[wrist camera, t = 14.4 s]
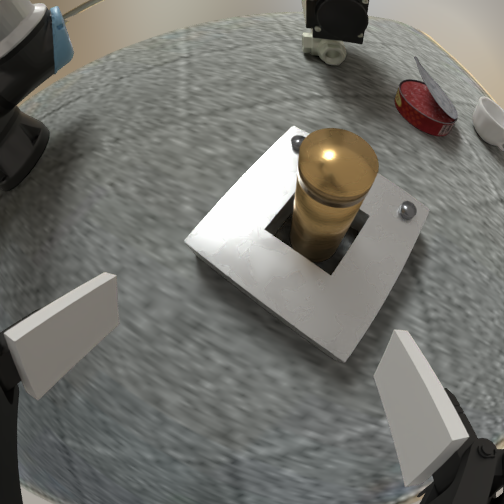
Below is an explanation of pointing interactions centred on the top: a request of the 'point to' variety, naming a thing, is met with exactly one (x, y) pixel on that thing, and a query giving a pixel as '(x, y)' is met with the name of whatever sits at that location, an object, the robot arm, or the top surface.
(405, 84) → the canned food
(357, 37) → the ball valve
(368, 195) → the jig
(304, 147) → the gold metal cylinder
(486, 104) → the teacup
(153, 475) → the top surface
